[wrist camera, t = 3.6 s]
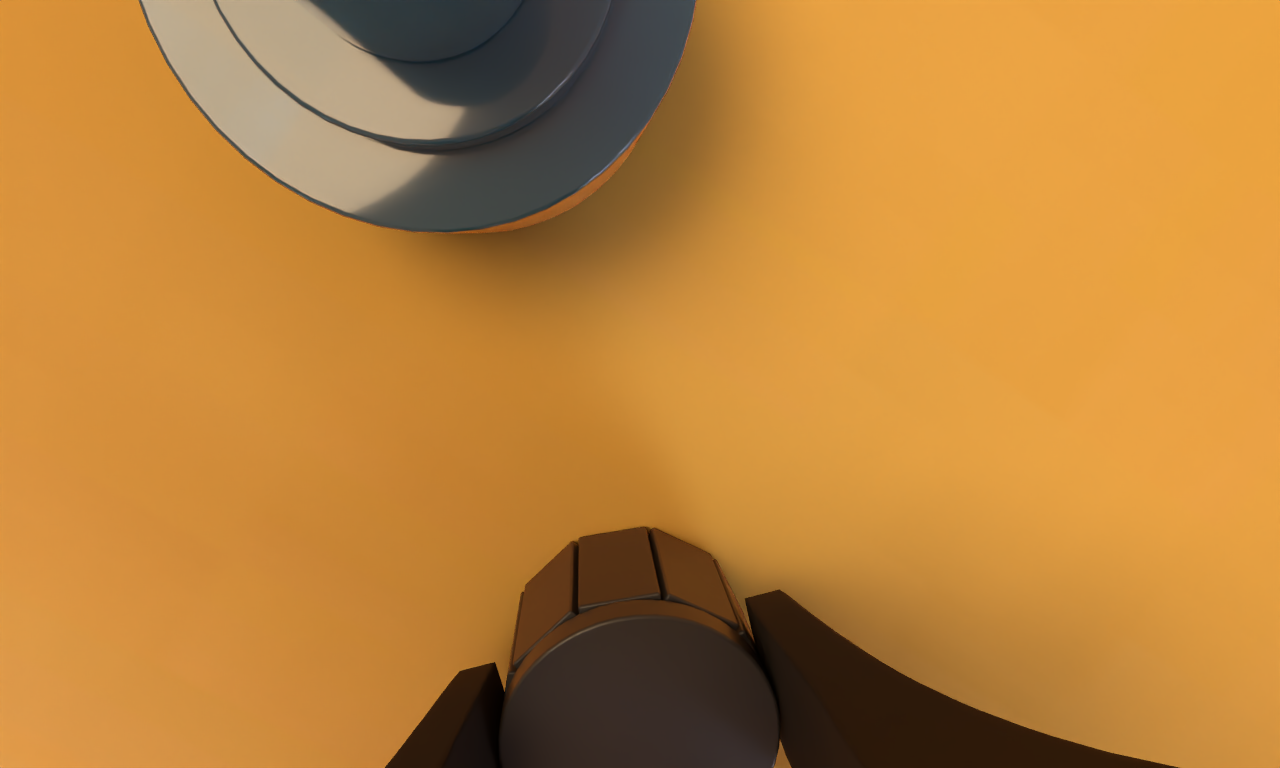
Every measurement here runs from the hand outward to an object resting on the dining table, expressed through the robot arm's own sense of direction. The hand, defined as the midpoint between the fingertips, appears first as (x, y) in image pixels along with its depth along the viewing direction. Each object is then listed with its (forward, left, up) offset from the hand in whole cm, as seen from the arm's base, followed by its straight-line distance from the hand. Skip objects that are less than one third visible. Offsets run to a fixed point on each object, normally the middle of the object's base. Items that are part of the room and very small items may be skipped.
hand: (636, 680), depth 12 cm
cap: (0, 0, -1) cm, 1 cm away
